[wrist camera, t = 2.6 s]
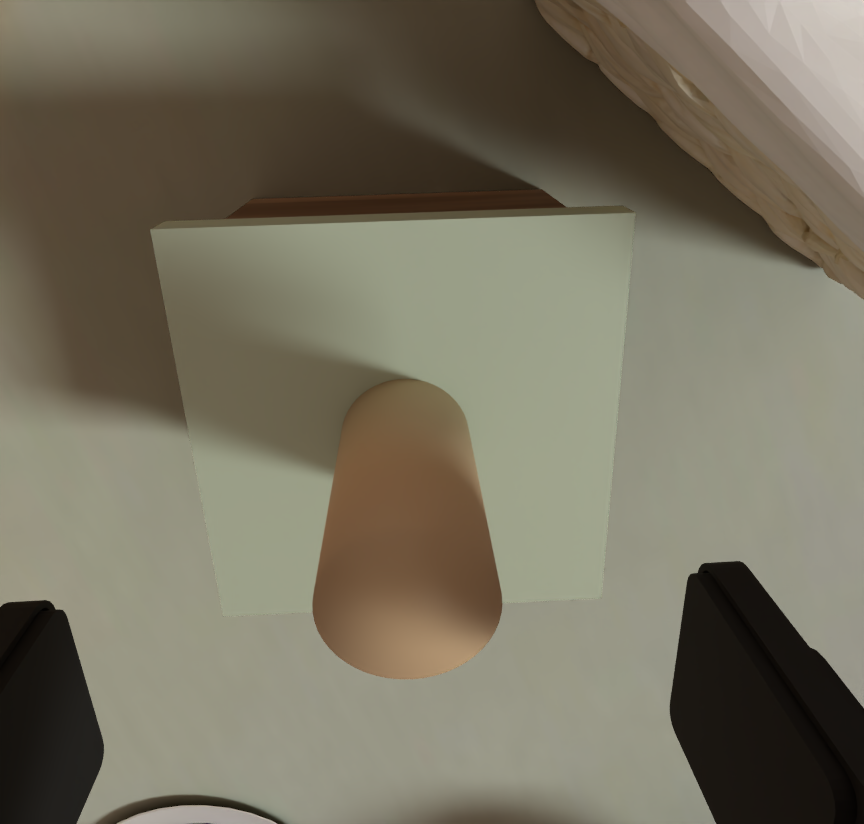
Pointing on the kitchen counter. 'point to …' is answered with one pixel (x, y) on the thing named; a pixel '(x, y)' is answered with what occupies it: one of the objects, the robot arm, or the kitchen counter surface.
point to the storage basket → (749, 103)
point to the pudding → (196, 816)
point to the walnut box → (396, 203)
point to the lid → (401, 415)
